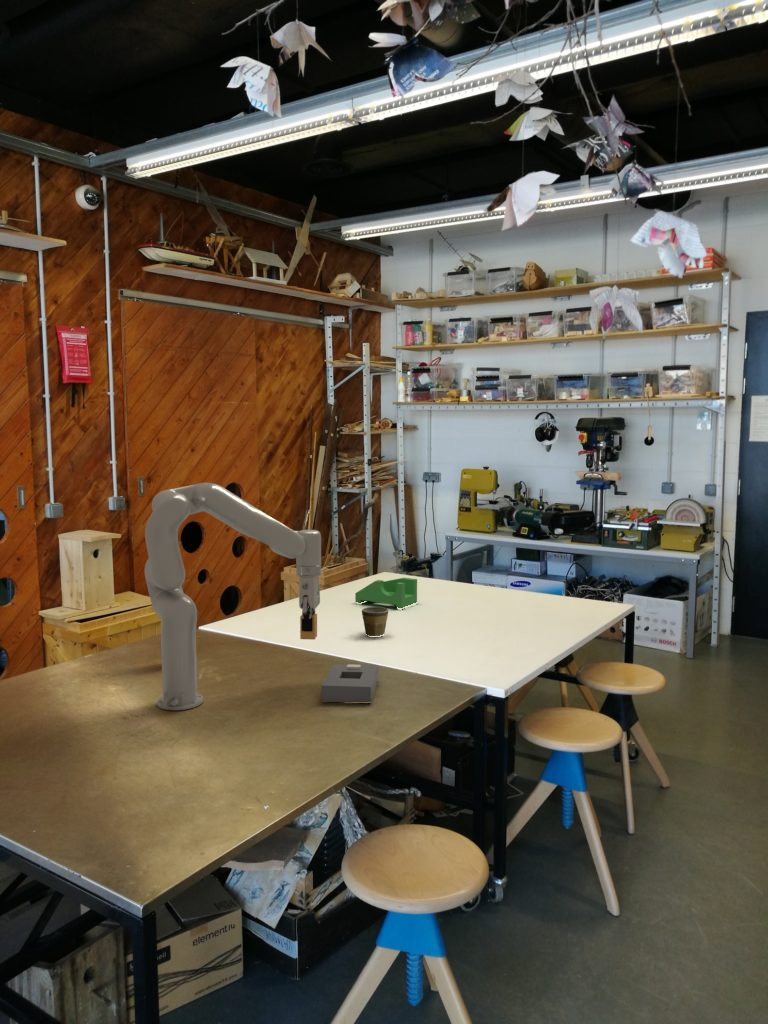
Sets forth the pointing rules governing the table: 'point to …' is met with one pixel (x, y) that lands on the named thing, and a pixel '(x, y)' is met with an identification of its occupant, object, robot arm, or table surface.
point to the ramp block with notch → (390, 592)
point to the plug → (313, 633)
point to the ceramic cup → (375, 620)
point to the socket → (350, 683)
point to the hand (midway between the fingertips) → (308, 628)
